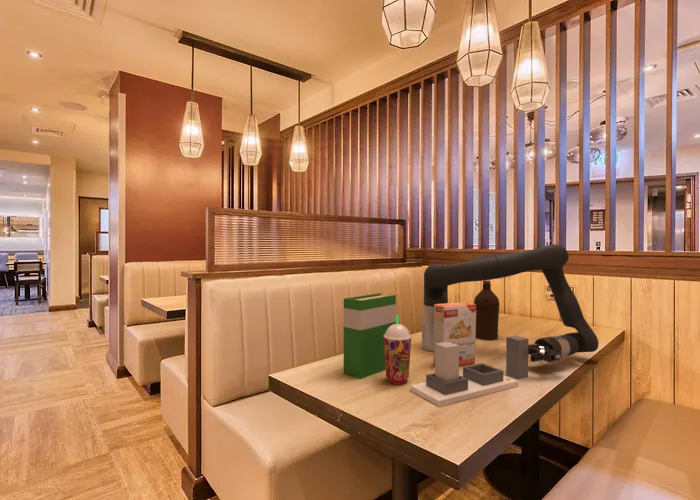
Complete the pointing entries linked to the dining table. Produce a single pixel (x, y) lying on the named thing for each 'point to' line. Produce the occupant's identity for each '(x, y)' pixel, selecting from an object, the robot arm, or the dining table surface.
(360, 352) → the hardback book
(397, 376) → the smoothie
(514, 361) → the charcoal plug
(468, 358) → the cracker box
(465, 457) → the dining table surface
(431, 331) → the robot arm
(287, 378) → the dining table surface
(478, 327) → the olive oil
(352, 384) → the dining table surface
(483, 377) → the white board with sockets
